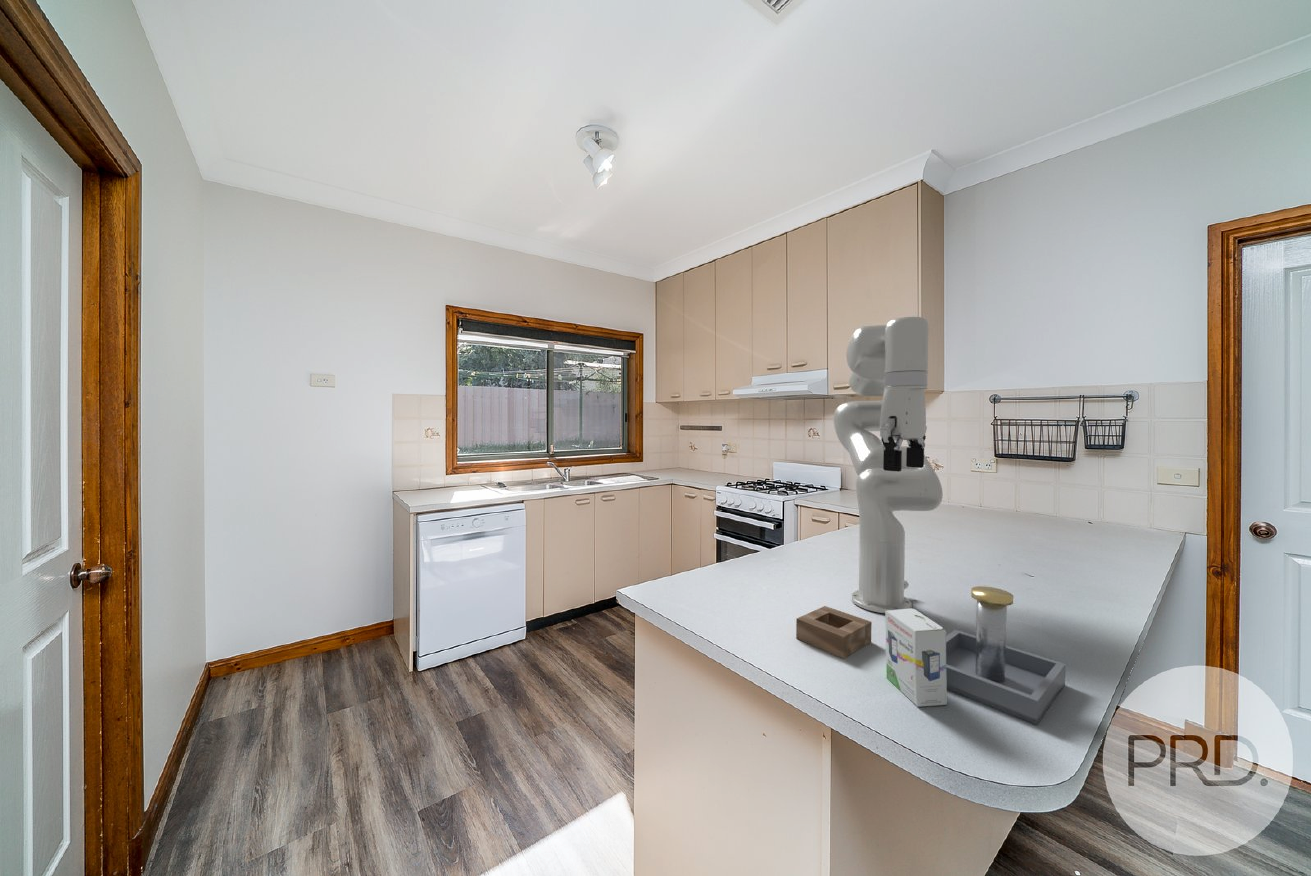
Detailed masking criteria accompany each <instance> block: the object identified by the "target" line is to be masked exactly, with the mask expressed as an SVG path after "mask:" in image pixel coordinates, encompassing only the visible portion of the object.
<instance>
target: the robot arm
mask: <svg viewBox="0 0 1311 876" xmlns="http://www.w3.org/2000/svg"><path fill="white" fill-rule="evenodd" d="M929 328H930V327H929V321H928V320H927V319H926V318H924V317H922V316H904V317H898V318H894V319H892V320H890V321H888V322H887V324H886V325H885V324H883V325H882V324H881V325H867V326H866V325H865V326H862V327H858V328H857V329H856V330H855V331H854V332H853V333H852V335H851V337H850V339H849V341H848V343H847V346H846V352H845V353H846V354H845V355H846V363H847V366H848V368H849V369H850V370H851V374H850V376H849V379H848V380H849V381H848V383H849V387H850V390H852V392H853V393H855V394H857V395H859V396H863V397H882V400H853V401H847V402H843V403H841V404H840V405H838V407H836V408H835V411H834V414H833V424H834V425H833V426H834V430H835V433H836V436H837V439H838V441H839V443H840V444H841V445H842V447H844V449H845V450H846V451H847V453H848V454H849V456H850V460H851V462H852V466H853V467H854V470H855V473H856V475H857V477H856V480H855V491H856V498H857V504H858V516H859V517H858V518H859V542H858V543H859V545H858V546H859V547H858V549H859V552H858V554H859V555H858V561H859V562H858V590H855V591H854V592H852V593H851V601H852V602H853V603H854V604H855V605H856V606H858V607H860V608H862V609H864V610H867V611H871V612H873V613H880V614H885V611H886V610H898V609H913V608H912V601H911V600H909V599H908V597H905V589H908V588H909V586H910V584H909V582H908V581H907V580H905V558H906V556H905V554H906V553H905V552H906V551H905V550H906V547H905V546H906V532H905V529H904V528H905V527H904V526H903V524H902V523H901V522H900V520H898V519H897V517H896V516H895V515H894V513H893V512H900V511H907V512H908V511H909V512H910V511H911V512H930V511H933V510H935V509H937V508H938V507H939V506H940V504H941V503H942V501H943V486H942V484H941V481H940V478H939V476H938V474H937V473H936V471H935V470H934V468H933V467H932V464H931V463H930V462H929V460H928V458H927V457H926V455H925V447H926V443H925V440H926V437H927V436H926V433H927V428H928V427H927V413H926V412H927V411H926V407H927V406H926V394H925V390H928V376H929V374H928V373H929V372H928V371H929V370H928V369H929V367H928V365H929V332H930V331H929V330H930V329H929ZM872 432H879V436H880V438H881V439H880V438H879V437H878V436H877V435H875V434H874V433H872ZM903 441H906V442H907V445H908V446H906V445H905V446H904V445H903V446H902V444H903Z"/></svg>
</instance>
